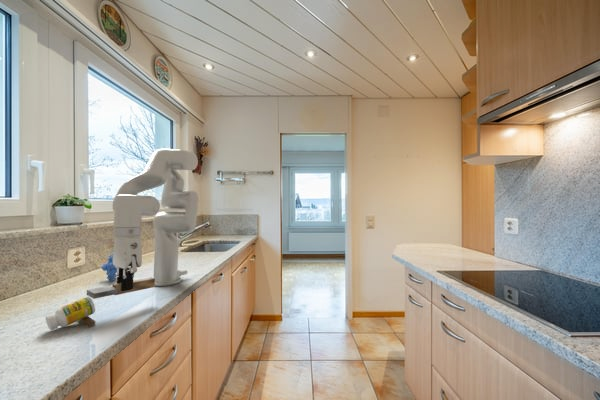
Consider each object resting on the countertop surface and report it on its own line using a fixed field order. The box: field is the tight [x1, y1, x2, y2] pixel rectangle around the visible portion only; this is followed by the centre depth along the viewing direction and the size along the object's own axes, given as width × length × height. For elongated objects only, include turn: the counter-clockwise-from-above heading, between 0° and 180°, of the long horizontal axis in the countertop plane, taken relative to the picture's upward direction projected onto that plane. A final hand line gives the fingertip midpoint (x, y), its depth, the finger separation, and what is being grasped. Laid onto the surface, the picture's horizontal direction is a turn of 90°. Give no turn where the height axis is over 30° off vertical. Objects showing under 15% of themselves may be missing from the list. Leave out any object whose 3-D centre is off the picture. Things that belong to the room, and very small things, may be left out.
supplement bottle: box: [45, 296, 96, 331], centre depth 72 cm, size 5×5×10 cm
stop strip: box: [78, 316, 96, 328], centre depth 75 cm, size 2×10×1 cm, turn 57°
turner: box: [86, 277, 155, 300], centre depth 83 cm, size 18×6×3 cm, turn 147°
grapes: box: [100, 252, 117, 282], centre depth 117 cm, size 12×7×12 cm, turn 27°
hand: (124, 288), depth 83 cm, fingers closed on turner, 2 cm apart
